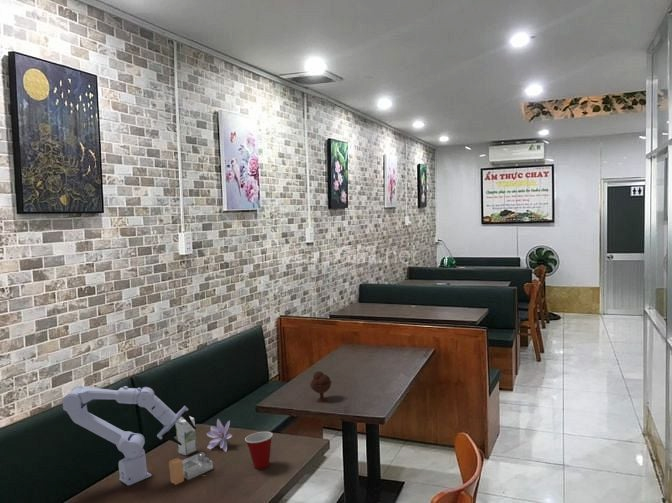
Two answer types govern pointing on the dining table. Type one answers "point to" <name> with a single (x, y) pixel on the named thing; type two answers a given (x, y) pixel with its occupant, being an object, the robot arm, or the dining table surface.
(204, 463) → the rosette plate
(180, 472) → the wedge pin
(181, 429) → the syrup box
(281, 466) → the dining table surface
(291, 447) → the dining table surface
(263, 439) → the plastic cup
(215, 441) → the water lily
